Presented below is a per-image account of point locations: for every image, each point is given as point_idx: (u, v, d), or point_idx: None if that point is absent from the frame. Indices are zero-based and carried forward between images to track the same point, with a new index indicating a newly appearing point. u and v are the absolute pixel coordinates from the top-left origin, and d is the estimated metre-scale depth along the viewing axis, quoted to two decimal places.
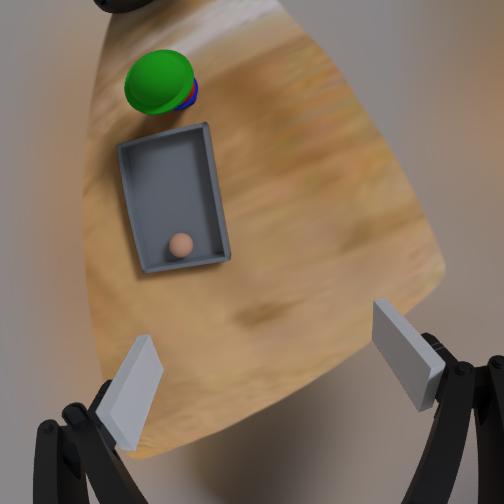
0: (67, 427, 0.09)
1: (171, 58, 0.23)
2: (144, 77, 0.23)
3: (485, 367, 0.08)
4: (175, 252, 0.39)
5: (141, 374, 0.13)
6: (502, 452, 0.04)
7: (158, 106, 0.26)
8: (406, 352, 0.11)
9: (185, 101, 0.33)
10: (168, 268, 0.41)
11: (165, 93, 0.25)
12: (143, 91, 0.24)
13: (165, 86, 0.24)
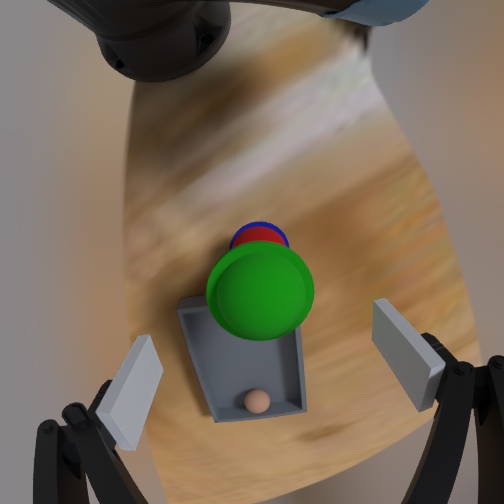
0: (67, 427, 0.09)
1: (292, 283, 0.19)
2: (256, 324, 0.18)
3: (485, 367, 0.08)
4: (253, 412, 0.35)
5: (141, 374, 0.13)
6: (502, 453, 0.04)
7: None
8: (406, 352, 0.11)
9: None
10: (243, 419, 0.36)
11: (282, 333, 0.20)
12: (251, 335, 0.19)
13: (285, 329, 0.19)
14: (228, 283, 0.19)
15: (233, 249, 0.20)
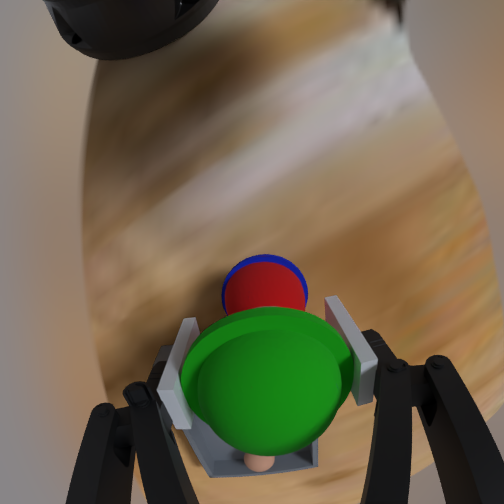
0: (123, 409, 0.10)
1: (327, 387, 0.10)
2: (263, 450, 0.09)
3: (423, 369, 0.10)
4: None
5: None
6: (459, 452, 0.05)
7: None
8: None
9: None
10: (242, 475, 0.27)
11: None
12: None
13: None
14: (214, 387, 0.10)
15: (222, 323, 0.11)
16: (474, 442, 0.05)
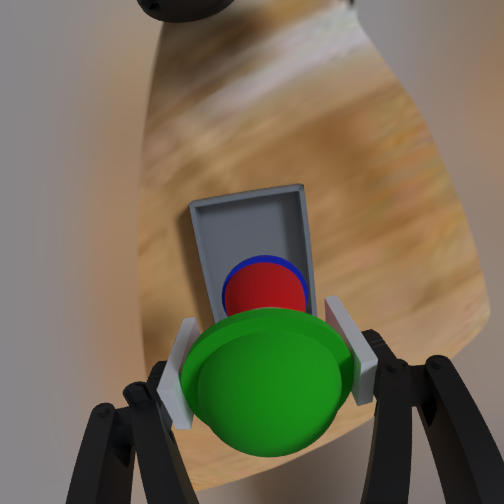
0: (123, 409, 0.10)
1: (327, 388, 0.10)
2: (263, 451, 0.09)
3: (423, 369, 0.10)
4: None
5: None
6: (459, 452, 0.05)
7: None
8: None
9: None
10: None
11: None
12: None
13: None
14: (214, 388, 0.10)
15: (222, 324, 0.11)
16: (474, 442, 0.05)
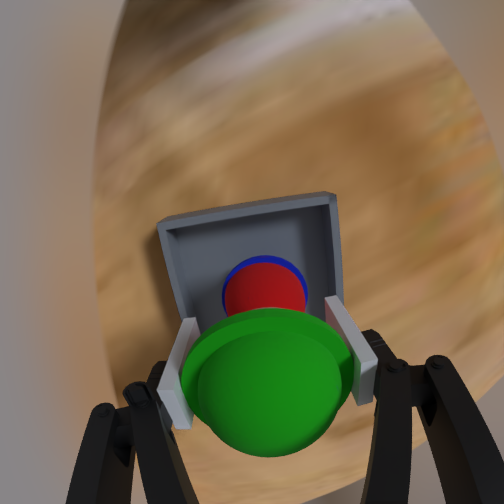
0: (123, 409, 0.10)
1: (327, 388, 0.10)
2: (263, 451, 0.09)
3: (422, 369, 0.10)
4: None
5: None
6: (459, 452, 0.05)
7: None
8: None
9: None
10: None
11: None
12: None
13: None
14: (214, 389, 0.10)
15: (222, 324, 0.11)
16: (474, 442, 0.05)
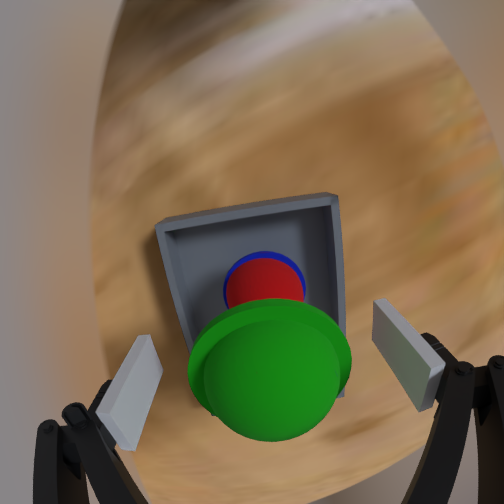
0: (67, 427, 0.09)
1: (326, 372, 0.10)
2: (267, 435, 0.10)
3: (485, 367, 0.08)
4: None
5: (141, 374, 0.13)
6: (502, 452, 0.04)
7: None
8: (406, 352, 0.11)
9: None
10: None
11: None
12: (259, 439, 0.11)
13: None
14: (221, 374, 0.11)
15: (228, 314, 0.12)
16: None
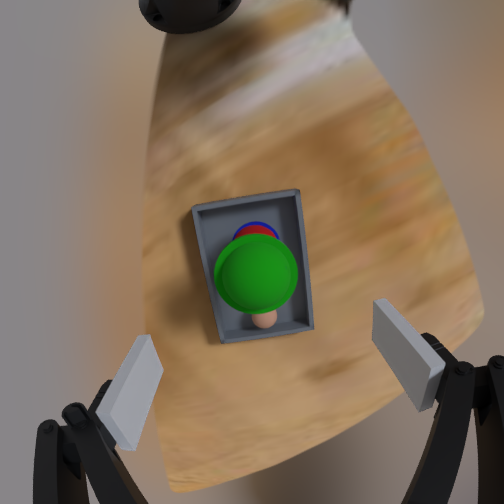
0: (67, 427, 0.09)
1: (280, 264, 0.25)
2: (252, 295, 0.24)
3: (485, 367, 0.08)
4: (260, 325, 0.38)
5: (141, 374, 0.13)
6: (502, 452, 0.04)
7: None
8: (406, 352, 0.11)
9: None
10: (250, 338, 0.39)
11: (272, 305, 0.26)
12: (249, 305, 0.25)
13: (274, 301, 0.25)
14: (231, 264, 0.25)
15: (235, 239, 0.26)
16: None
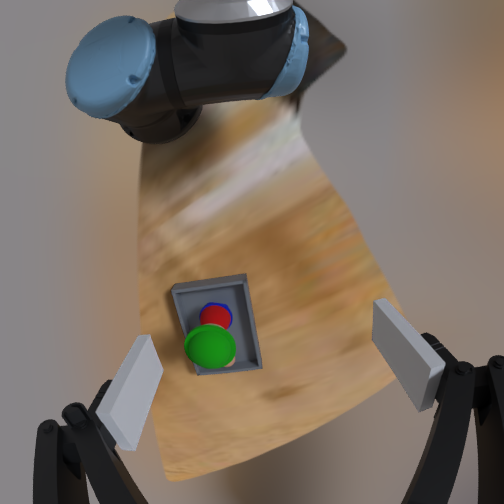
0: (67, 427, 0.09)
1: (221, 346, 0.39)
2: (205, 363, 0.39)
3: (485, 367, 0.08)
4: None
5: (141, 374, 0.13)
6: (502, 452, 0.04)
7: None
8: (406, 352, 0.11)
9: None
10: (217, 373, 0.54)
11: (219, 366, 0.41)
12: (204, 367, 0.40)
13: (219, 365, 0.40)
14: (192, 345, 0.39)
15: (195, 328, 0.41)
16: None
